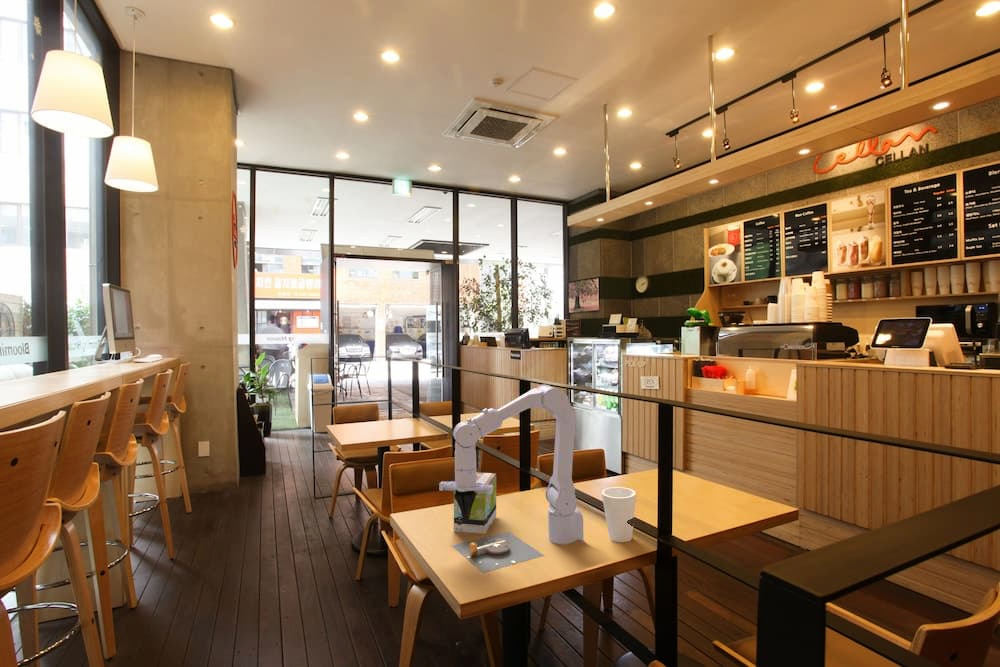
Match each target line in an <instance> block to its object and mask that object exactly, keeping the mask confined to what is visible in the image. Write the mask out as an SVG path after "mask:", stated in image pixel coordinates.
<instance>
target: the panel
mask: <svg viewBox="0 0 1000 667" xmlns="http://www.w3.org/2000/svg"><path fill="white" fill-rule="evenodd" d="M493 538H502V539H506V540H508V541H509V542H510V551H509V552H508V553H506V554H503V555H491V554H488V553H485V554H481V555H478V556H476V557H470V543H472V542H476V543H477V547H480V546H484V542H485V541H487V540H489V539H493ZM451 546H452V547H453V548H454V549H455V550H456V551H457V552H459V553H460V554H461V556H463V557H464V558H465V559H467V560H468V561H469V563H471V564H472V565H473V566H474V567H476V568H477V569H478V570H479V571H480V572H481V573H482V574H485V573H488V572H492V571H494V570H496V571H497V570H499V569H502V568H506V567H509V566H513V565H516V564H519V563H520V564H521V563H522V562H523V563H524V562H526V561H530V560H533V559H534V560H535V559H536V558H541V557H544V556H545V554H543V553H542V552H540V551H539V550H537V549H536V548H534V547H532V546H531V545H529V544H528V543H527V542H525V541H523V540H522V539H520V538H519V537H517V536H516V535H514V534H513V533H511V532H510V531H505V532H501V533H498V534H494V535H490V536H485V537H481V538H477V539H473V540H468V541H465V542H461V543H457V544H452V545H451Z"/></svg>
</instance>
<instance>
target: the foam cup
mask: <svg viewBox="0 0 1000 667" xmlns="http://www.w3.org/2000/svg"><path fill="white" fill-rule="evenodd" d="M601 501H602V503H603V509H604V510H603V511H604V515H605V520H606V527H607V532H608V533H607V534H608V537H609V538H608V539H609V540H611V541H613V542H616V543H628V542H631V540H632V539H633V530H634V525H633V526H631V525H630V524H628V523H627V521H628V520H630V519H632V518H634V519H635V511H636V509H635V508H636V503H637V494H636V491H635V490H633V489H632V488H627V487H624V486H623V487H622V486H613V487H612V486H610V487H606V488H604V489H603V490H602V491H601Z"/></svg>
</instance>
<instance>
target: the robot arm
mask: <svg viewBox="0 0 1000 667" xmlns="http://www.w3.org/2000/svg"><path fill="white" fill-rule="evenodd" d="M528 409H536V410H537V409H538V410H542V409H545V410H547V411H548V412H549V413H550V414H551V415H552V416H553V417H554V419H555V421H556V422H555V435H554V436H555V437H554V449H553V450H554V452H553V453H554V454H553V464H552V465H553V468H552V469H553V470H552V475H551V477H550V478H549V483H548V486H547V488H546V490H545V499H546V501H547V502H548V504H549V506H548V508H547V513H548V514H547V515H548V516H547V519H548V522H547V523H548V524H547V525H548V534H547V535H548V540H549V542H551V543H553V544H556V545H569V544H572V543H574V542H576V541H579V540H580V541H581V542H583V543H586V540H585V538H584V537H585V536H584V533H585V532H584V517H583V514H582V511H580V509H579V508H577V507H578V499H577V497H576V488H575V487H576V486H575V485H574V482H573V478H572V476H573V465H574V464H573V460H574V449H575V448H574V446H575V433H576V432H575V431H576V412H575V410H574V408H573V407H572V405H571V402H570V401H569V396H568V395H567V394H566V393H565V392H564V391H562V389H559V388H558V387H553V386H551V385H549V384H541V385H539V386H537V387H535V388H531V389H530V390H528V391H527V392H525V393H523V394H522V395H520V396H519V397H517V398H514V399H513V400H511V401H510V402H509V403H506V404H504V405H503V406H501V407H500V408H498V409H495V408H492V407H491V408H487V407H485V408H483V409H482V410H481V411H482V412H481V413H479V414H477V415H475V416H474V417H468V418H466V420H467V421H461V422H459V423H457V424H456V425H455V427H454V428H453V431H452V436H453V439H454V440H455V441H454V442H455V444H454V448H455V449H454V480H452V481H441V482H439V485H438V486H439V487H438V490H439V491H441V492H443V491H448V492H449V491H452V492H454V491H456V492H455V494H454V493H453V499H454V498H455V499H456V501H457V503H458V505H459V507H460V510H461V514H462V518H463V520H468V519H469V518H470V513H471V508H472V505H473V502H474V499H475V497H476V495H477V493H487V494H490V495H491V494H492V493H493V485H487V484H482V483H478V482H477V481H476V472H477V450H476V445H477V442H478V440H479V439H482V438H483V437H485V436H487V435H489V434H490V433H493V432H494V431H497V430H498V429H499V428H501V427H502V424H503V422H504V421H505V420H507V419H509V418H511V417H513V416H516V415H517V414H519V413H522V412H523V411H526V410H528Z"/></svg>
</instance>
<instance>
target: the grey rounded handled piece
mask: <svg viewBox="0 0 1000 667" xmlns="http://www.w3.org/2000/svg"><path fill="white" fill-rule="evenodd" d="M509 551H510V542H509V541H508V540H506V539H502V538H493V539H489V540H487V541H485V542H484V546H480V547H477V543H476V542H472V543H470V557H476V556H478V555H481V554H485V553H488V554H491V555H503V554H506V553H508V552H509Z"/></svg>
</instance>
